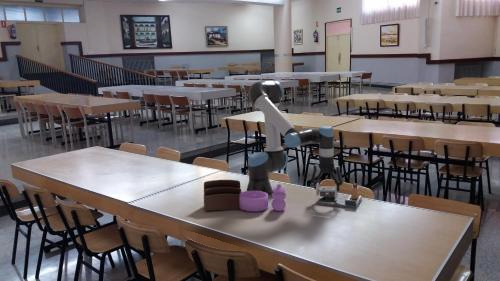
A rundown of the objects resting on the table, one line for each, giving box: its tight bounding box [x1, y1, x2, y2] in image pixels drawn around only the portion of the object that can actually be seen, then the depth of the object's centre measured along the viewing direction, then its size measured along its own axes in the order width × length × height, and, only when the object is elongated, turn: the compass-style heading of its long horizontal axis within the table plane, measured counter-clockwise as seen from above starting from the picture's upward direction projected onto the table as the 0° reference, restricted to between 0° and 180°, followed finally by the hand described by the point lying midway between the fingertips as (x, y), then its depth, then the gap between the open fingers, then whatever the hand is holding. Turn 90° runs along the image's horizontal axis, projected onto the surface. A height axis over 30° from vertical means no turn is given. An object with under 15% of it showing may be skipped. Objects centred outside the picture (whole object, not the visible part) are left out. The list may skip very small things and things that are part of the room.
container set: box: [239, 184, 287, 212], centre depth 213 cm, size 25×15×13 cm, turn 71°
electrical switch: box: [318, 185, 335, 198], centre depth 224 cm, size 9×5×9 cm
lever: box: [350, 183, 360, 199], centre depth 218 cm, size 3×3×8 cm
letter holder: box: [203, 179, 242, 212], centre depth 216 cm, size 10×20×14 cm, turn 98°
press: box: [317, 193, 363, 210], centre depth 218 cm, size 20×15×4 cm
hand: (326, 196), depth 220 cm, fingers closed on electrical switch, 10 cm apart
